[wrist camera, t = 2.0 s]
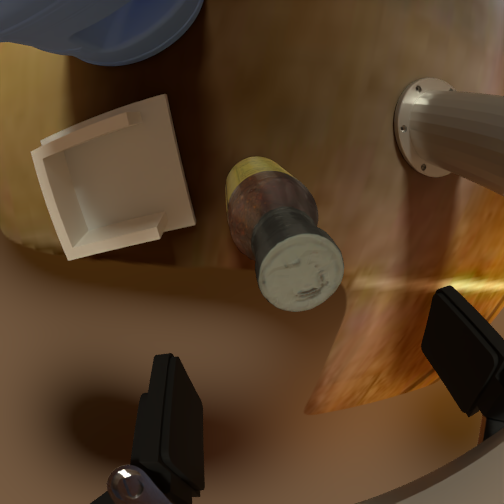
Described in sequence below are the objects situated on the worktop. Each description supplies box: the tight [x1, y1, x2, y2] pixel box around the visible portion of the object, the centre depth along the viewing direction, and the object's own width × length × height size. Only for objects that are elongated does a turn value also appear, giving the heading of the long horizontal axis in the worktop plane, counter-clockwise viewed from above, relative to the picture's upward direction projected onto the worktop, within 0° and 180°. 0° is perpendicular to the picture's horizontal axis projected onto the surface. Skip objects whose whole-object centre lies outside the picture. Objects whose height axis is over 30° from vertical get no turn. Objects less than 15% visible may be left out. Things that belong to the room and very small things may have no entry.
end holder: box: [31, 94, 196, 260], centre depth 26 cm, size 15×14×6 cm
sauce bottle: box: [225, 157, 344, 312], centre depth 22 cm, size 7×6×20 cm
